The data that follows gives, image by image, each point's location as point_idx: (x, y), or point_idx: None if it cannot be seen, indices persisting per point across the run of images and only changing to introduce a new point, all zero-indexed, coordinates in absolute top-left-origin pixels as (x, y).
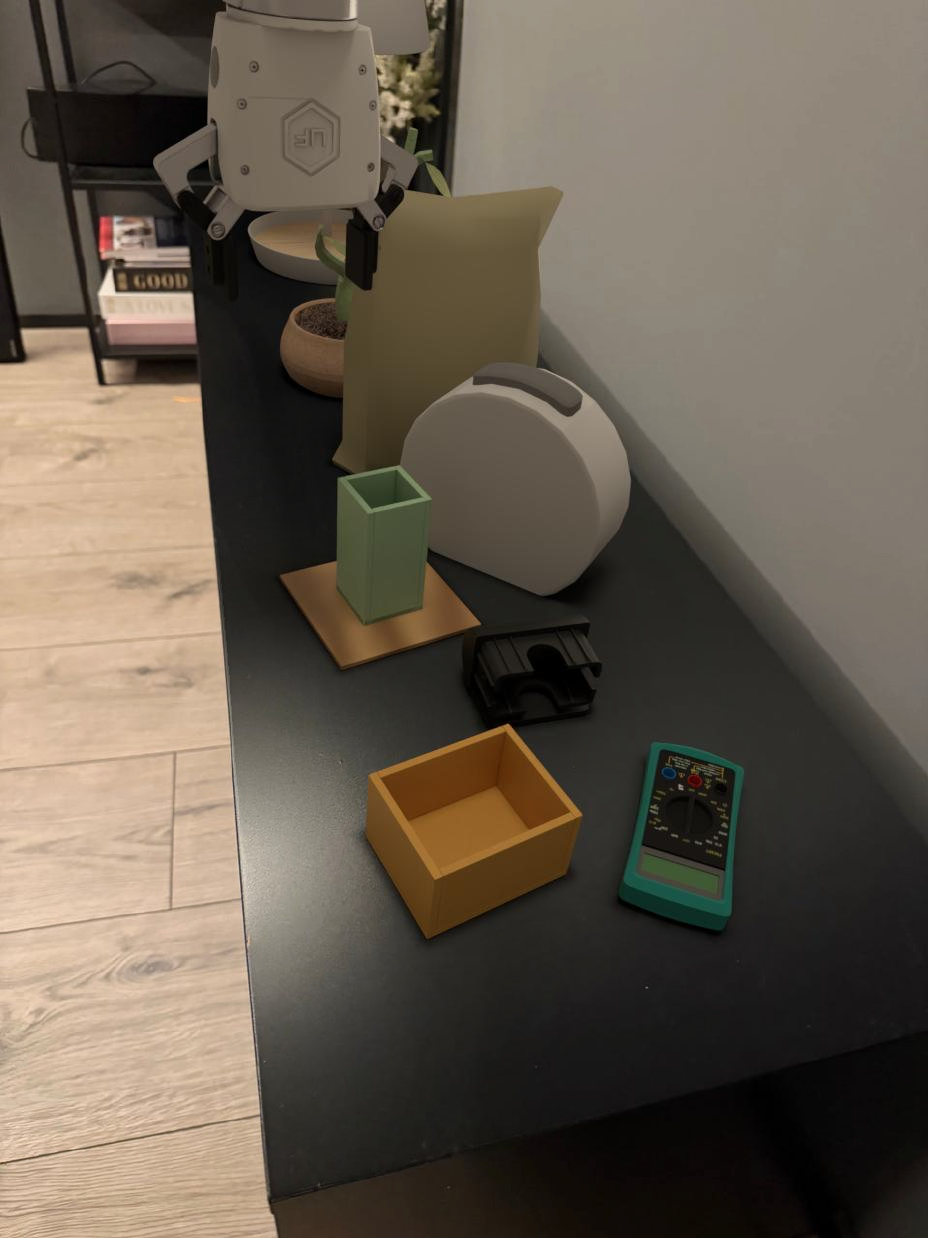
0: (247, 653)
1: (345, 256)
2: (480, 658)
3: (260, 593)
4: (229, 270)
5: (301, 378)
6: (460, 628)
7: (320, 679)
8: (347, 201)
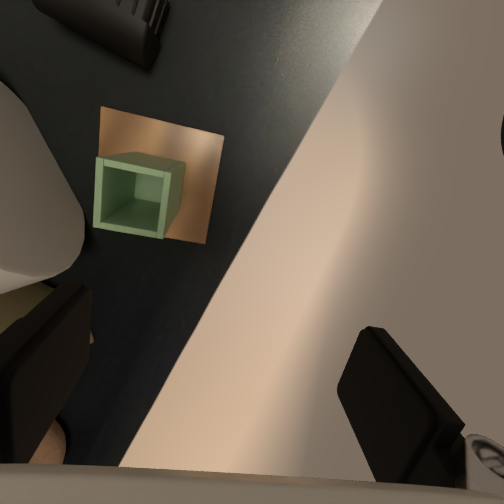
0: (264, 189)
1: (69, 394)
2: (151, 21)
3: (224, 237)
4: (413, 367)
5: (61, 434)
6: (120, 112)
7: (240, 137)
8: (47, 489)
